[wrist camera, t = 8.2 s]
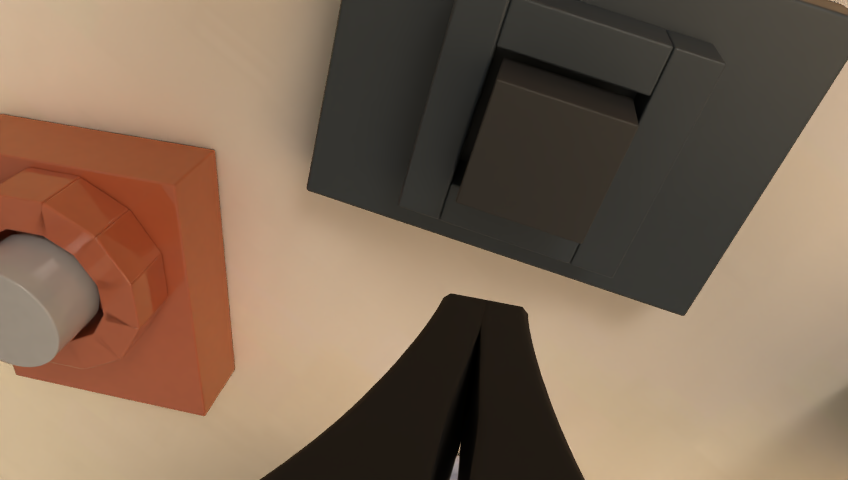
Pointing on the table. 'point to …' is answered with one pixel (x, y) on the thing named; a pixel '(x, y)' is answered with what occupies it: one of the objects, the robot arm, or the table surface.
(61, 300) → the gray push button
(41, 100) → the table surface
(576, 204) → the dark top block
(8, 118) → the orange knob plate
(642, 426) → the table surface
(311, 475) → the robot arm
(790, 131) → the dark gray socket plate
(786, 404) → the table surface
